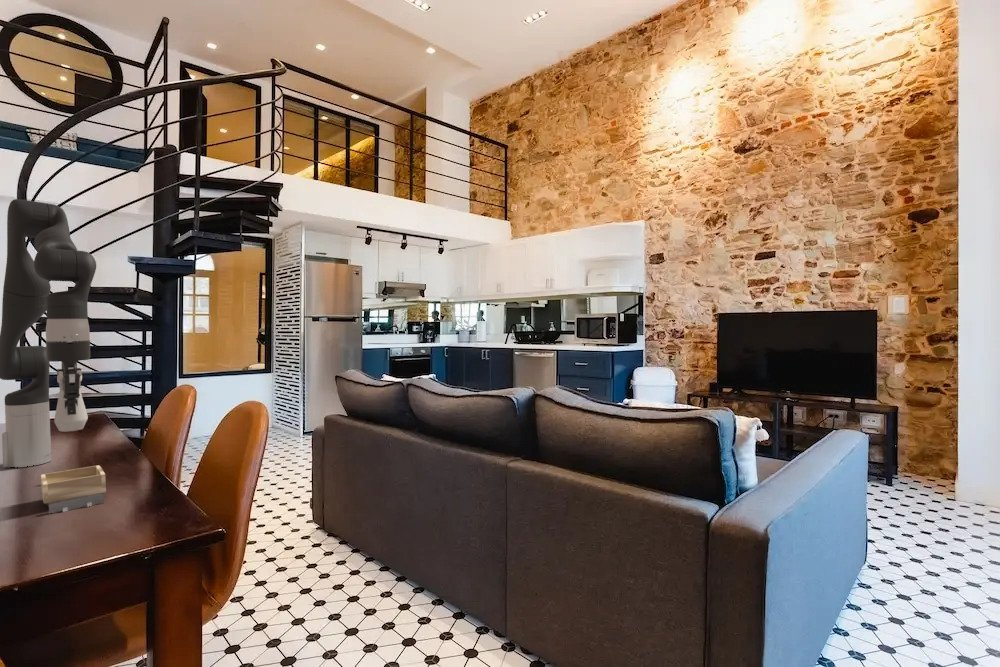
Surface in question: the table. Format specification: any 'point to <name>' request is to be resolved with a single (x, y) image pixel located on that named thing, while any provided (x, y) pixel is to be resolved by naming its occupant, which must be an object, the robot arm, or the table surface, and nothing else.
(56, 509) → the rail
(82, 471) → the wooden tray
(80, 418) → the salt shaker
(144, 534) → the table surface
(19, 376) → the robot arm
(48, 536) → the table surface
